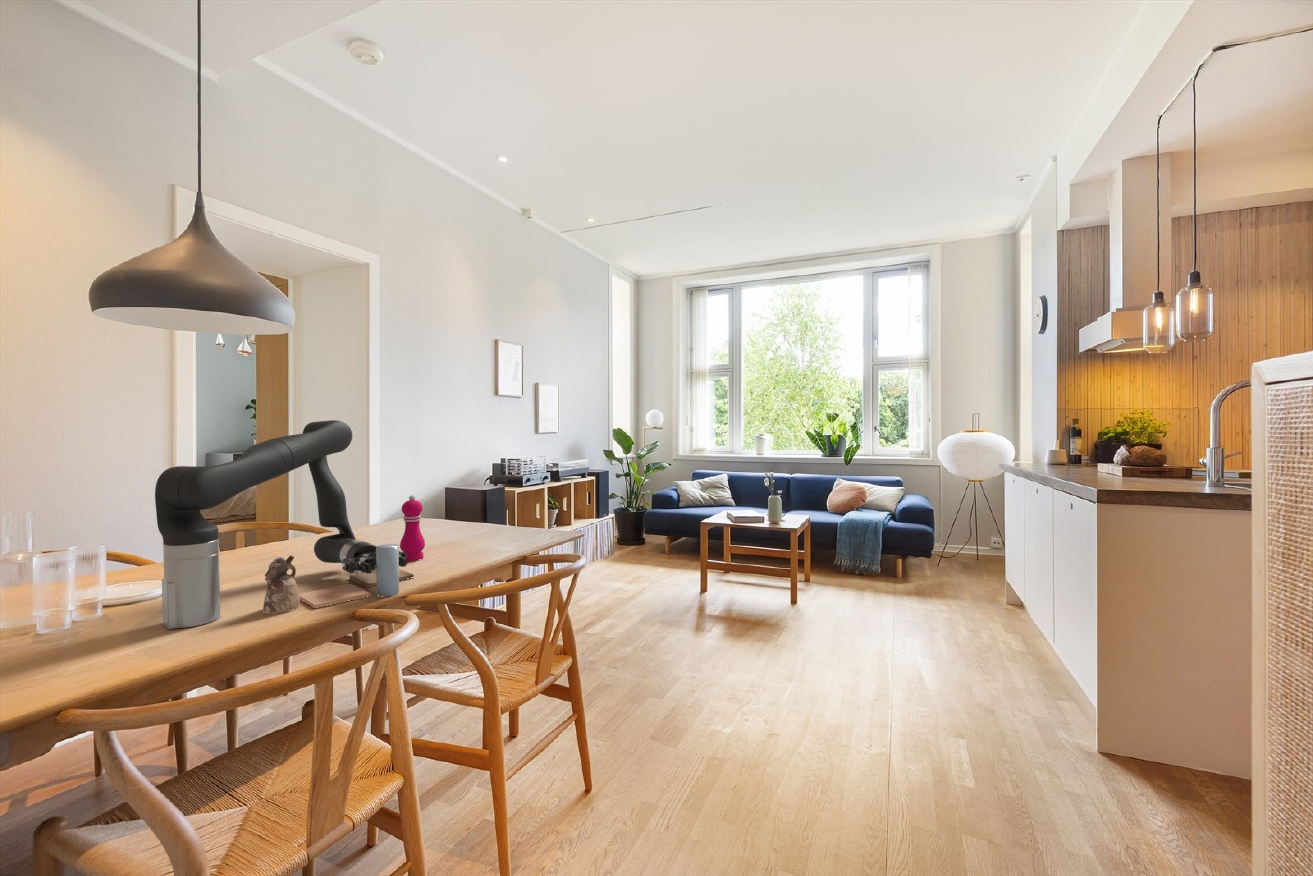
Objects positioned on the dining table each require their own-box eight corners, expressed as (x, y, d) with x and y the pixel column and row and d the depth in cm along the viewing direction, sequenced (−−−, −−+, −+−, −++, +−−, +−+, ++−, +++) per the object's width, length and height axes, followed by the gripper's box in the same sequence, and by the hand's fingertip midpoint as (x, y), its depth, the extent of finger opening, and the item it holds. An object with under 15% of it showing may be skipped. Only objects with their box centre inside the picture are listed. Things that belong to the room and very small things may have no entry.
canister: (382, 598, 138) (381, 549, 138) (373, 594, 141) (372, 546, 141) (402, 593, 142) (402, 546, 141) (393, 589, 145) (392, 543, 145)
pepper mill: (404, 556, 180) (403, 493, 180) (428, 556, 181) (427, 493, 180) (396, 562, 173) (395, 496, 172) (421, 561, 174) (420, 496, 173)
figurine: (260, 608, 131) (259, 556, 130) (296, 602, 135) (296, 551, 135) (264, 616, 125) (263, 562, 125) (302, 609, 130) (301, 557, 129)
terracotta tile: (315, 609, 130) (315, 604, 130) (297, 598, 138) (297, 594, 138) (369, 596, 139) (369, 592, 139) (349, 587, 147) (349, 583, 147)
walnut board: (368, 587, 147) (368, 584, 147) (349, 579, 154) (349, 575, 154) (413, 578, 156) (413, 574, 156) (393, 570, 164) (393, 567, 164)
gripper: (331, 546, 146) (357, 556, 136) (387, 537, 157) (415, 546, 147) (331, 575, 147) (358, 587, 136) (387, 564, 157) (415, 575, 147)
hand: (387, 566), depth 141 cm, fingers open, 8 cm apart
